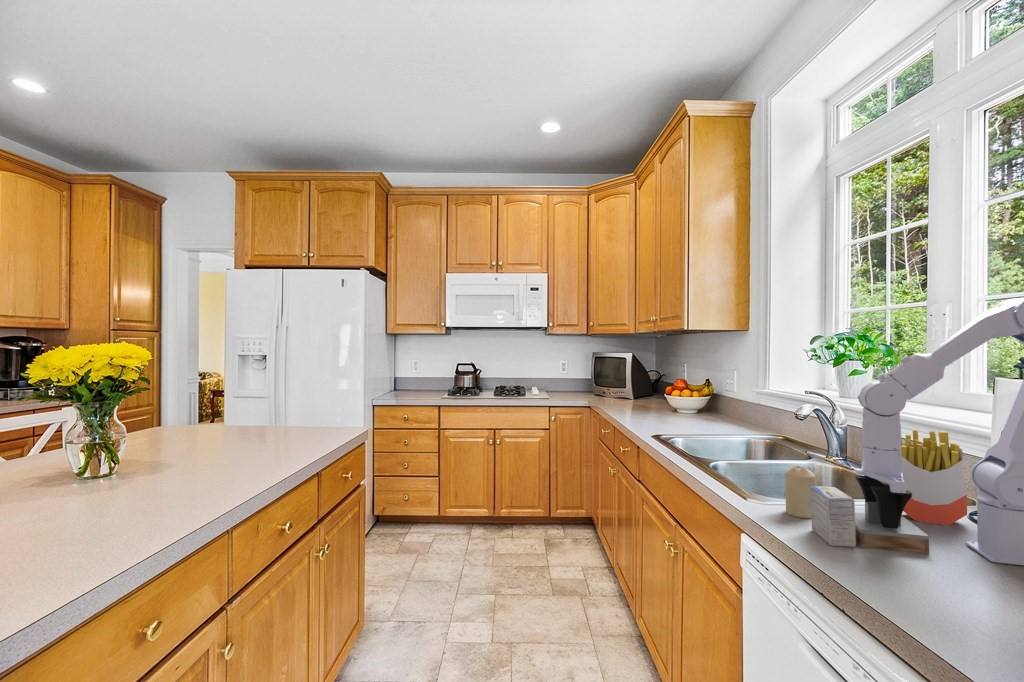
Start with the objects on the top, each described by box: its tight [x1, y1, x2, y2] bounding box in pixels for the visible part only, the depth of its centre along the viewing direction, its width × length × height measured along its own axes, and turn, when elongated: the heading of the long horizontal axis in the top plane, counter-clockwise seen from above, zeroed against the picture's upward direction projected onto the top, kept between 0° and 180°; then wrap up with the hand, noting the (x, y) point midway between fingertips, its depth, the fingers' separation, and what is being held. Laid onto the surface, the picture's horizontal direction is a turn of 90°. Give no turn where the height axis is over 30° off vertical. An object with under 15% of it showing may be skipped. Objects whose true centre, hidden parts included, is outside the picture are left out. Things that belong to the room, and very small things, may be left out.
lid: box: [855, 500, 930, 541], centre depth 90 cm, size 10×10×5 cm
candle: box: [784, 465, 817, 519], centre depth 104 cm, size 6×6×10 cm
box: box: [855, 528, 930, 555], centre depth 90 cm, size 10×10×2 cm
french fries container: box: [901, 429, 968, 526], centre depth 100 cm, size 5×11×18 cm, turn 63°
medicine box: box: [811, 485, 857, 548], centre depth 91 cm, size 8×4×9 cm, turn 168°
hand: (882, 521), depth 90 cm, fingers open, 6 cm apart
